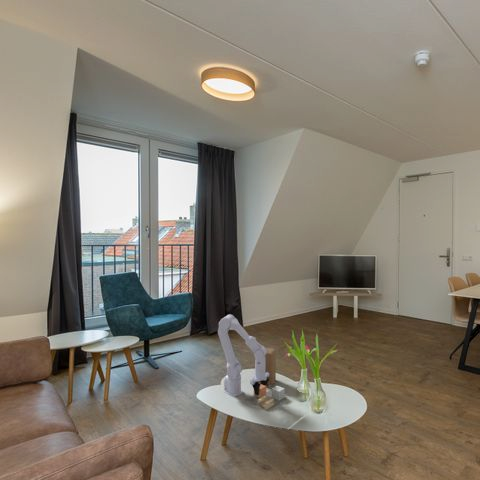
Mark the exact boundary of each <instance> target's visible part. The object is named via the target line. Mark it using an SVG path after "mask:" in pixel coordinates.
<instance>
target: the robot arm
mask: <svg viewBox="0 0 480 480" xmlns="http://www.w3.org/2000/svg"><path fill="white" fill-rule="evenodd" d="M229 330H230V331H235V332H236V333H237V334H238V335H240V337H241V338H242V339H243V340H244V342H245V345H246V347H248V348H249V350H251V352H252V353H253V356H254V358H255V360H254V362H255V363H254V377H252V378H251V380H250V385H251V386H252V388H253V393H254V392H255V395H259V389H260V385H261V384H262V385H265V386H266V387H267V383H268V381H269V379H268V378H267V377H269V373H268V372H266V373H265V355H266V352H267V350H266V348H267V347H266V346H264V345H262V344H260V343H259V342H258V341H257V338H256V336H255V337H254V336H252V335H249V334H248V332H247V330H245V328H244V327H243V326H242V325H241V324H240V323H239V319H237V318H236V317H235V315H233V314H231V313H230V314H227V315H226V316H224V317H223V318H221V319H220V320H219V322H218V329H217V335H218V338H219V341H220V345H221V347H222V350H223V353H224V357H225V360H226V376H225V377H224V379H223V381H224V383H223V385H224V386H223V391H222V392H224V393H226V394H228V395H230V396H231V397H234V398H236V397H237V396H240V395H241V394H243V393H244V392H245V391H244V390H242V375H241V373H242V371H243V366H242V365H241V363H240V362H239V360H238V358H236V355H235V352H234V349H233V345H232V342H231V339H230V336H229V333H228V332H229ZM265 347H266V348H265ZM258 381H260V383H261V384H259V382H258Z"/></svg>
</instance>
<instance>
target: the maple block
mask: <svg viewBox="0 0 480 480" xmlns="http://www.w3.org/2000/svg"><path fill="white" fill-rule="evenodd" d="M258 405H259V406H261V407H263V408H265V409H264V410H266V409H268V408H270V407H271V406H273V405H274V399H272V398H270V397H267V396H263V397H262V398H260V399H258ZM259 406H258V407H259ZM261 407H260V408H261ZM263 408H262V409H263Z"/></svg>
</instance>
